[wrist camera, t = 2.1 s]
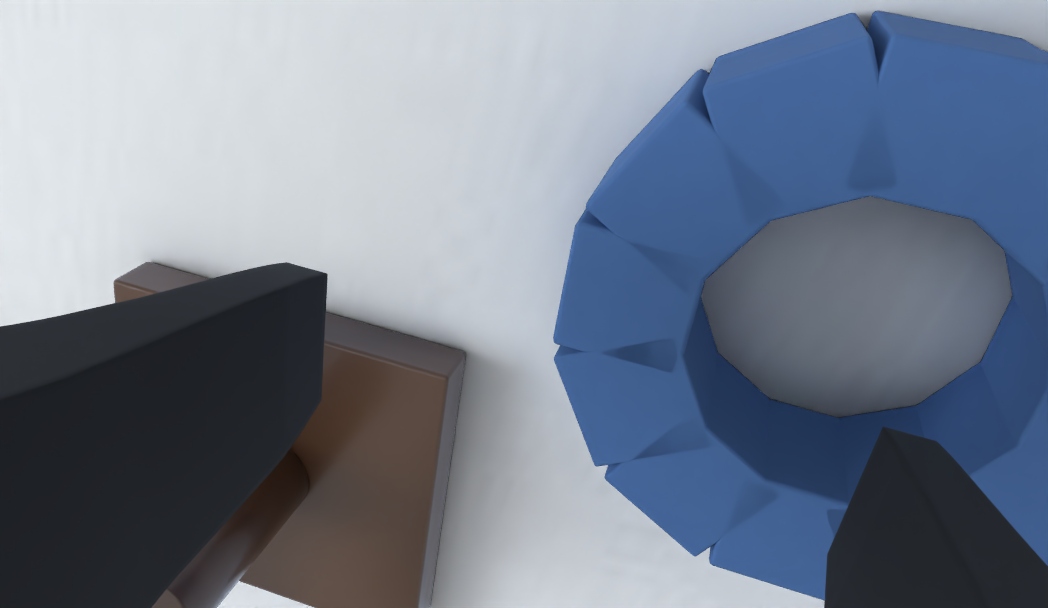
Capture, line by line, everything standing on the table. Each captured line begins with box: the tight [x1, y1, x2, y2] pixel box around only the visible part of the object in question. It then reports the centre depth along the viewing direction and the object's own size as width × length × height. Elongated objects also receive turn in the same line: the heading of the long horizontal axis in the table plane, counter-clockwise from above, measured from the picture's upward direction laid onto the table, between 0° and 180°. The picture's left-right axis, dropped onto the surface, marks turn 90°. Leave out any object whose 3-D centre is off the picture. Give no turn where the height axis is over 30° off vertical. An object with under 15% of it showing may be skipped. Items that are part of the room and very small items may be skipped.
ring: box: [553, 11, 1048, 600], centre depth 14 cm, size 10×10×3 cm
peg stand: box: [114, 262, 466, 608], centre depth 18 cm, size 8×8×6 cm
